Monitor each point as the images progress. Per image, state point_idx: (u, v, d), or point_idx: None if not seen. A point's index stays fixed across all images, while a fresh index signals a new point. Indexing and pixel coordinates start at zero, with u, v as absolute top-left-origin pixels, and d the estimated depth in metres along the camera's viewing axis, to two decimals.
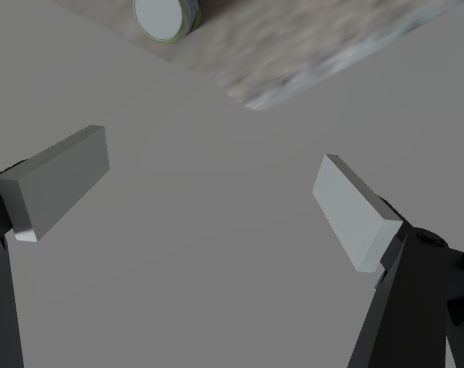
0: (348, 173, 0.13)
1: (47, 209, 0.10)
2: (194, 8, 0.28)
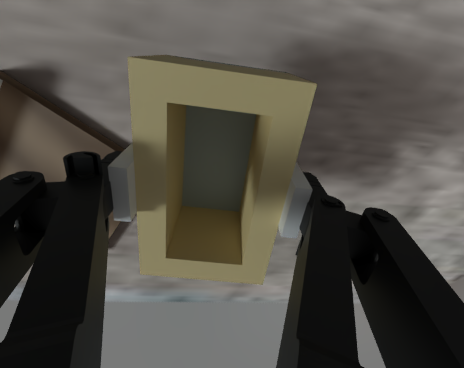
0: None
1: None
2: None
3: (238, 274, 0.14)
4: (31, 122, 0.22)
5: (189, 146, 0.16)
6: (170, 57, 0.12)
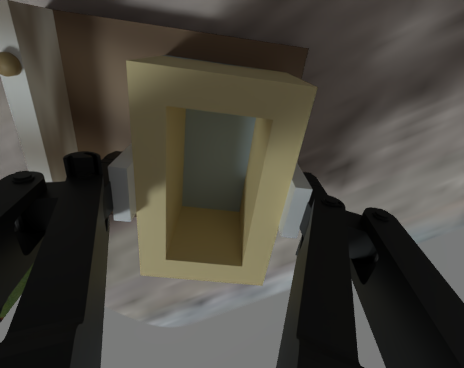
0: None
1: None
2: None
3: (238, 275, 0.14)
4: (113, 59, 0.14)
5: (189, 147, 0.16)
6: (169, 58, 0.12)
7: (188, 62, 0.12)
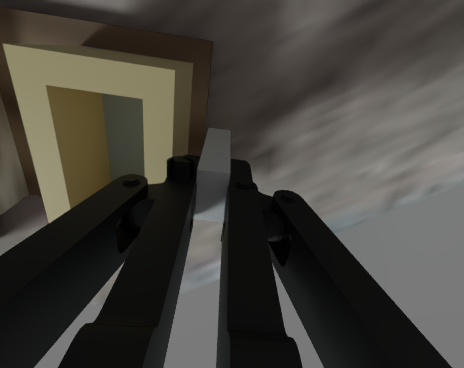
0: (223, 142, 0.14)
1: None
2: None
3: None
4: None
5: (110, 131, 0.17)
6: (72, 47, 0.14)
7: (85, 50, 0.13)
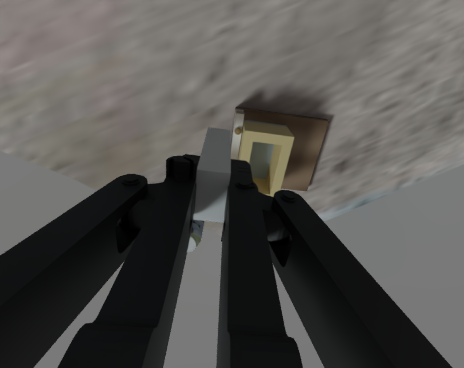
0: (223, 142, 0.14)
1: None
2: (203, 222, 0.41)
3: None
4: None
5: None
6: (248, 123, 0.37)
7: (255, 125, 0.37)
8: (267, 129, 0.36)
